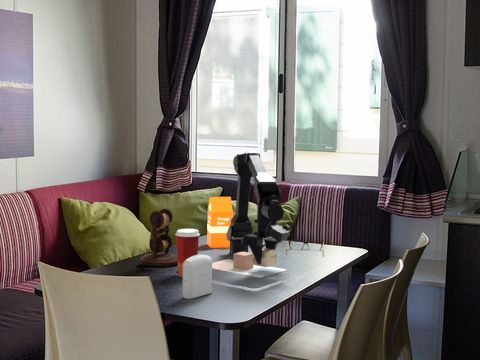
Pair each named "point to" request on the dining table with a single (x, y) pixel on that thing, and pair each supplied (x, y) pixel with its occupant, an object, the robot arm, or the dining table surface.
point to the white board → (255, 271)
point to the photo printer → (197, 276)
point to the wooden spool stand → (160, 241)
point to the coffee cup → (186, 246)
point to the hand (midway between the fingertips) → (264, 262)
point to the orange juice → (219, 221)
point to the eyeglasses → (307, 244)
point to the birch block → (266, 258)
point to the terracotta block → (242, 260)
